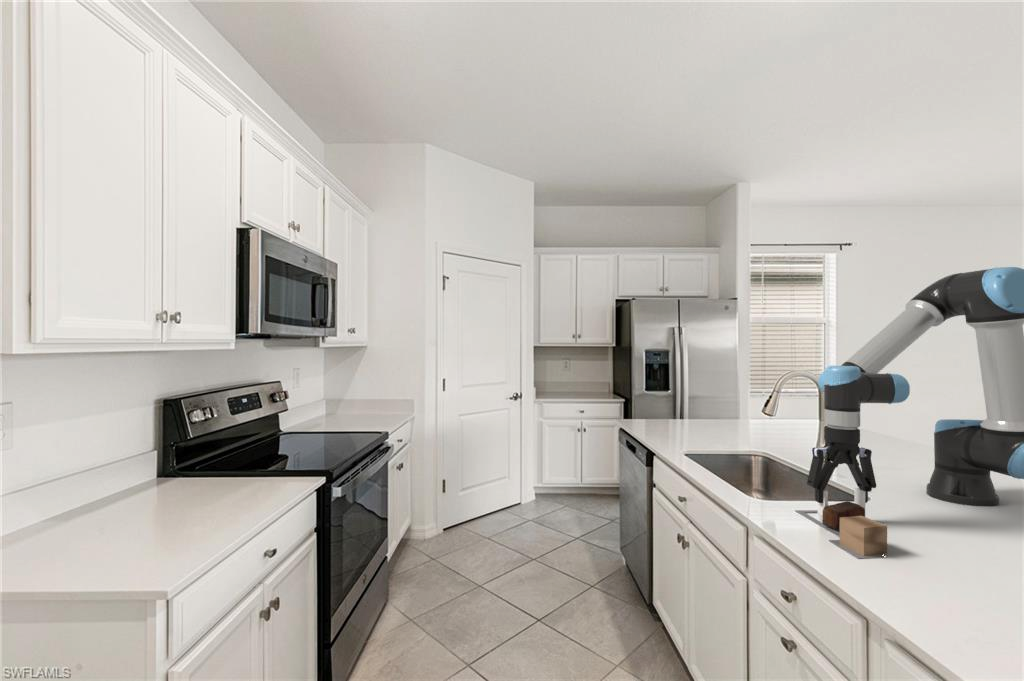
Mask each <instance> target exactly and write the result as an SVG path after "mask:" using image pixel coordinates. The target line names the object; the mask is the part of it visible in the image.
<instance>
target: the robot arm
mask: <svg viewBox="0 0 1024 681" xmlns="http://www.w3.org/2000/svg"><path fill="white" fill-rule="evenodd" d="M959 316H964V318H965V324H967V325H968V326H969V327H971V328H972V329H974V331H975V337H976V344H977V345H976V346H977V352H978V361H979V367H980V374H981V375H980V376H981V382H982V389H983V396H984V397H983V398H984V404H985V405H984V406H985V411H986V419H950V418H949V419H947V418H946V419H943V418H942V419H939V420H938V421H936V422H935V424H934V432H933V438H934V440H933V441H934V442H933V443H934V445H933V447H934V448H933V450H934V469H933V471H932V474H931V477H930V480H929V483H927V484H926V495H927V496H929V497H931V498H933V499H935V500H939V501H942V502H947V503H951V504H954V505H963V506H971V507H995V506H998V505H1000V497H999V495H998V493H996V492H997V491H996V490H995V485H994V483H993V480H992V478H991V472H994V473H998V474H1001V475H1005V476H1009V477H1012V478H1014V479H1018V480H1024V327H1023V325H1024V268H1022V267H1017V266H1003V267H994V268H988V269H981V270H974V271H967V272H960V273H954V274H950V275H947V276H945V277H943V278H940V279H938V280H937V281H934V282H933V283H931V284H930V285H928V286H927V287H926V288H924V289H923V290H921V291H920V292H919V293H917V294H916V295H915V296H914V297H912V298H911V299H910V300H909V301H908V302H907V303H906V304H905V309H904V310H903V311H902V312H901V313H899V315H897V317H895V318H894V319H893V320H892V321H891V322H889V323H888V324H887V325H886V326H885V327H884V328H882V330H880V331H879V332H878V333H877V334H876V335H874V336H873V337H872V338H871V339H870V340H869V341H868V342H867V343H865V344H864V345H863V346H862V347H861V348H859V350H857V351H856V352H855V353H854V354H852V356H850V357H849V358H848V359H847V360H845V362H843V363H842V364H841V365H828V366H827V367H826V368H825V370H824V371H822V372H821V373H820V375H819V377H818V379H817V380H818V381H817V382H818V387H819V389H820V390H821V391H822V392H823V393H824V398H823V400H824V401H823V402H824V410H823V411H824V412H823V413H824V414H823V415H824V416H823V417H824V424H825V426H824V428H823V439H824V446H823V447H819V448H818V447H812V449H811V451H812V459H811V462H810V468H809V472H808V476H807V480H806V481H807V482H806V485H807V486H809V487H811V488H813V489H814V501H815V502H817V510H818V513H817V514H818V515H820V516H822V514H823V509H824V507H825V506H829V503H828V502H829V501H828V500H829V491H828V490H826V487H827V485H828V484H829V482H830V480H831V477H832V475H833V473H834V471H835V469H836V468H838V467H839V465H843V464H844V465H845V464H846V465H847V467H848V469H849V472H850V473H851V475H852V478H853V479H854V482H855V484H856V485H857V487H854V490H853V491H854V492H853V493H854V497H853V499H854V501H853V503H855V504H858V505H860V506H861V507H863V508H864V509H865V510H866V504H868V501H869V493H870V492H872V491H873V489H876V488H877V481H876V477H875V474H874V469H873V468H874V467H873V464H872V450H871V449H869V448H866V447H860V446H859V444H860V443H861V430H860V427H861V404H889V405H892V404H899V403H903V402H906V400H907V399H908V397H909V396H910V392H911V391H910V388H911V386H910V383H909V381H908V379H906V378H905V376H903V375H901V374H898V373H888V372H887V373H886V372H885V373H879V372H881V370H884V369H885V367H886V366H887V365H889V364H890V363H891V362H893V360H895V359H896V358H897V357H898V356H899V355H900V354H902V353H903V352H904V351H905V350H906V349H907V348H909V347H910V346H911V345H912V344H913V343H914V342H916V341H917V340H918V339H919V338H920V337H921V336H923V335H924V334H925V333H926V332H927V331H928V330H929V329H931V328H932V327H938V326H940V325H941V324H943V323H944V322H945V321H947V320H948V319H951V318H954V317H959ZM857 456H858V459H859V461H858V459H857ZM824 458H825V459H824ZM860 467H861V468H860Z"/></svg>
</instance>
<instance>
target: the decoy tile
mask: <svg viewBox="0 0 1024 681" xmlns="http://www.w3.org/2000/svg"><path fill="white" fill-rule="evenodd" d="M839 541H840V539H828V542H830V543H831V544H833V545H835V546H836V547H837V548H840V549H841V550H843V551H845V552H846V553H848V554H849V555H851V556H853V557H854V558H855V559H857V560H865V559H866V560H869V559H885V558H884V556H885V555H886V554H885V555H884V556H882V555H883V554H877V555H866V556H863V555H861V554H859V553H857V552H855V551H853V550H851V549H849V548H847V547H845V546H843V545H841V544H839Z"/></svg>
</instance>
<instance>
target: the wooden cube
mask: <svg viewBox="0 0 1024 681" xmlns="http://www.w3.org/2000/svg"><path fill="white" fill-rule="evenodd" d="M839 533H840V537H839V540H840V541H839V544H841V545H843V546H845V547H847V548H849V549H851V550H853V551H855V552H857V553H859V554H861V555H863V556H866V555H877V554H885V553H886V554H888V525H885V524H883V523H882V522H879V521H876V520H874V519H871V518H869V517H866V516H865V517H864V516H852V517H840V529H839ZM886 554H885V555H886Z"/></svg>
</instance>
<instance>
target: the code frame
mask: <svg viewBox="0 0 1024 681" xmlns="http://www.w3.org/2000/svg"><path fill="white" fill-rule="evenodd" d="M794 512H795V513H798V514H800V515H801V516H803V517H804V518H806V519H808V520H810V521H811V522H813V523H814V524H816V525H818V526H820V527H822V528H823V529H825V530H826V531H828V532H830V533H832V534H833V535H835V536H836V537H838V538H840V531H838V530H835V529H833V528H831V527H828V526H826V525H823V523H822V522H821V521H820V520H818V519H816V518H815V517H813V516H811V515H809V514H818V509H817V510H815V509H814V510H812V509H811V510H810V509H809V510H808V509H807V510H803V509H802V510H801V509H800V510H798V509H797V510H796V509H795V511H794Z"/></svg>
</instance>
